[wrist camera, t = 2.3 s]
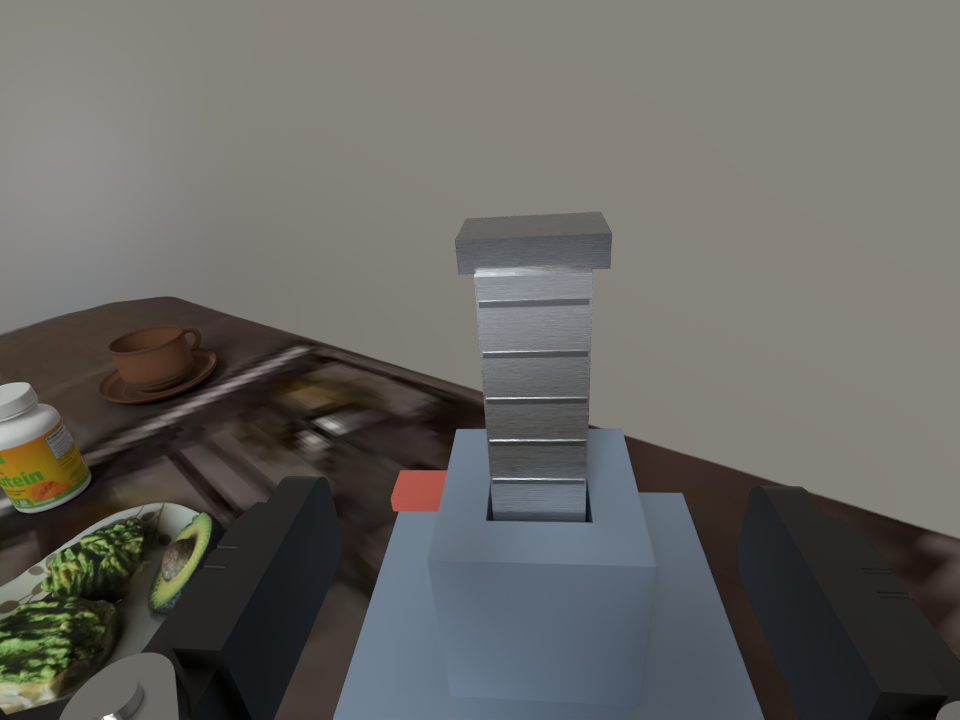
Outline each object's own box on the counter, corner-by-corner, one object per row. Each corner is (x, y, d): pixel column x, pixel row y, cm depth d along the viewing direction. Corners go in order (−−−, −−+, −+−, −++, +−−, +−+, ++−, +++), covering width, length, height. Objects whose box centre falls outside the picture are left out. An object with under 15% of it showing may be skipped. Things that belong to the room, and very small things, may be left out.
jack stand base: (679, 508, 37) (699, 376, 32) (812, 893, 19) (904, 735, 14) (408, 505, 39) (386, 381, 34) (306, 845, 22) (228, 694, 17)
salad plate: (-62, 976, 19) (-140, 932, 17) (-187, 733, 28) (-251, 683, 25) (315, 582, 34) (298, 532, 32) (158, 501, 42) (137, 456, 40)
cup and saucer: (151, 362, 66) (133, 318, 63) (239, 360, 64) (225, 314, 62) (79, 414, 55) (53, 364, 52) (183, 413, 54) (162, 362, 51)
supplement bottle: (0, 520, 41) (-69, 419, 36) (41, 476, 46) (-15, 382, 41) (71, 509, 42) (12, 409, 37) (105, 467, 46) (56, 373, 42)
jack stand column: (585, 580, 30) (599, 209, 20) (593, 648, 26) (613, 236, 16) (496, 577, 30) (467, 216, 21) (491, 643, 27) (453, 243, 17)
